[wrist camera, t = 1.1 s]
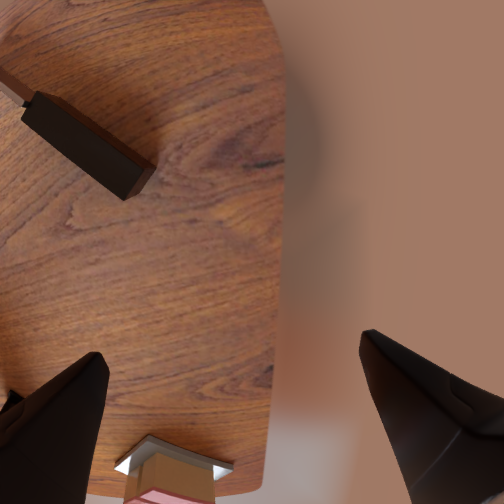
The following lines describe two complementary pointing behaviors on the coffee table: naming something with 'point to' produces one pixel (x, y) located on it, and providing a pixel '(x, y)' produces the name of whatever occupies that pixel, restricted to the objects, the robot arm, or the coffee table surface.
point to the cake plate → (152, 445)
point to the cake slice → (176, 482)
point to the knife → (80, 139)
